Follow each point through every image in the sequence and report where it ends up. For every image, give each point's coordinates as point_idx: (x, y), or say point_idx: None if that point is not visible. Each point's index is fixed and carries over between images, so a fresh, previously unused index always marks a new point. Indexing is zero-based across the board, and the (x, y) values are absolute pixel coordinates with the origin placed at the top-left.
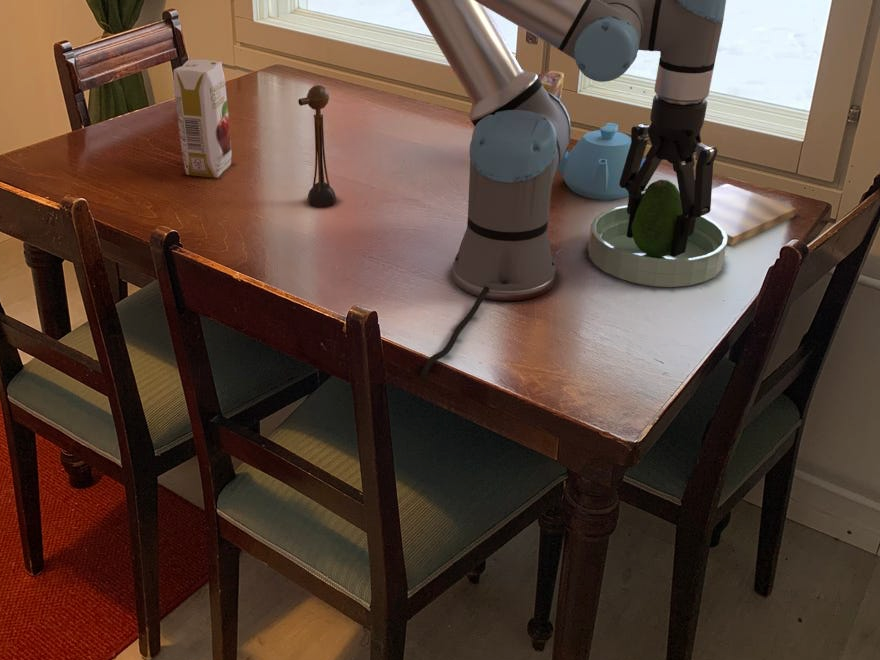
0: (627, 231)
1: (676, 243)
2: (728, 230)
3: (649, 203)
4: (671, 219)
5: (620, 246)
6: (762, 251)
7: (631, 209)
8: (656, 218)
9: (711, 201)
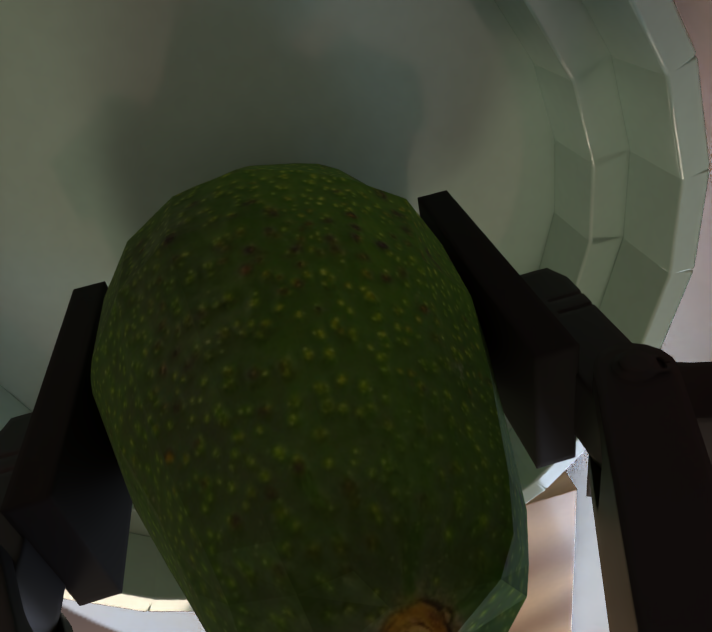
0: (456, 204)
1: (56, 344)
2: None
3: (311, 386)
4: (109, 434)
5: (451, 153)
6: (146, 620)
7: (519, 286)
8: (167, 334)
9: (509, 630)
